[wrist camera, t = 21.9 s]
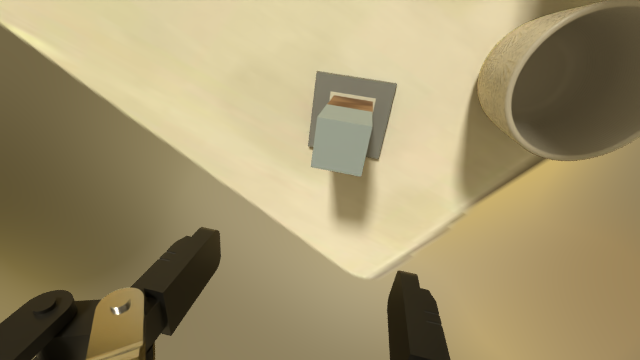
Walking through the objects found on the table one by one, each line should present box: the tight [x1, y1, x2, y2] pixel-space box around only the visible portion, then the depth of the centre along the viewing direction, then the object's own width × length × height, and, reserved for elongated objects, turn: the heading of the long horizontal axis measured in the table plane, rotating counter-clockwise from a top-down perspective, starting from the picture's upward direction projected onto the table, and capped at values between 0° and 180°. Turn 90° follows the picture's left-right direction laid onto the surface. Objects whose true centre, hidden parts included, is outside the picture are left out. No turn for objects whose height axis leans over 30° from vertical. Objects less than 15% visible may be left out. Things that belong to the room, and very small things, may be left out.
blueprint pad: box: [308, 71, 397, 159], centre depth 37 cm, size 10×10×1 cm
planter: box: [477, 0, 640, 161], centre depth 27 cm, size 12×12×11 cm
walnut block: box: [328, 95, 373, 114], centre depth 34 cm, size 5×5×6 cm
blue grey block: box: [311, 104, 372, 177], centre depth 29 cm, size 5×5×6 cm
